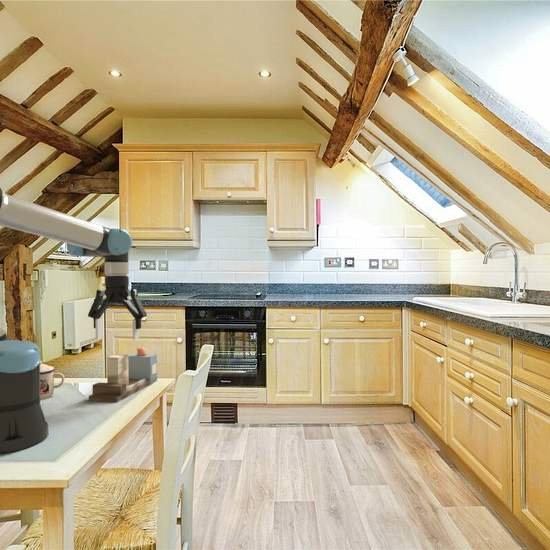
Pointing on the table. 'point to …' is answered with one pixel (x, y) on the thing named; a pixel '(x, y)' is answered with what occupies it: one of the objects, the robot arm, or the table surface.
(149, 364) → the cabinet
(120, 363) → the carriage
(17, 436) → the robot arm
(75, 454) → the table surface
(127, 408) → the table surface
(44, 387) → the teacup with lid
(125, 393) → the rail bed
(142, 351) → the button
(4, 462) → the table surface
